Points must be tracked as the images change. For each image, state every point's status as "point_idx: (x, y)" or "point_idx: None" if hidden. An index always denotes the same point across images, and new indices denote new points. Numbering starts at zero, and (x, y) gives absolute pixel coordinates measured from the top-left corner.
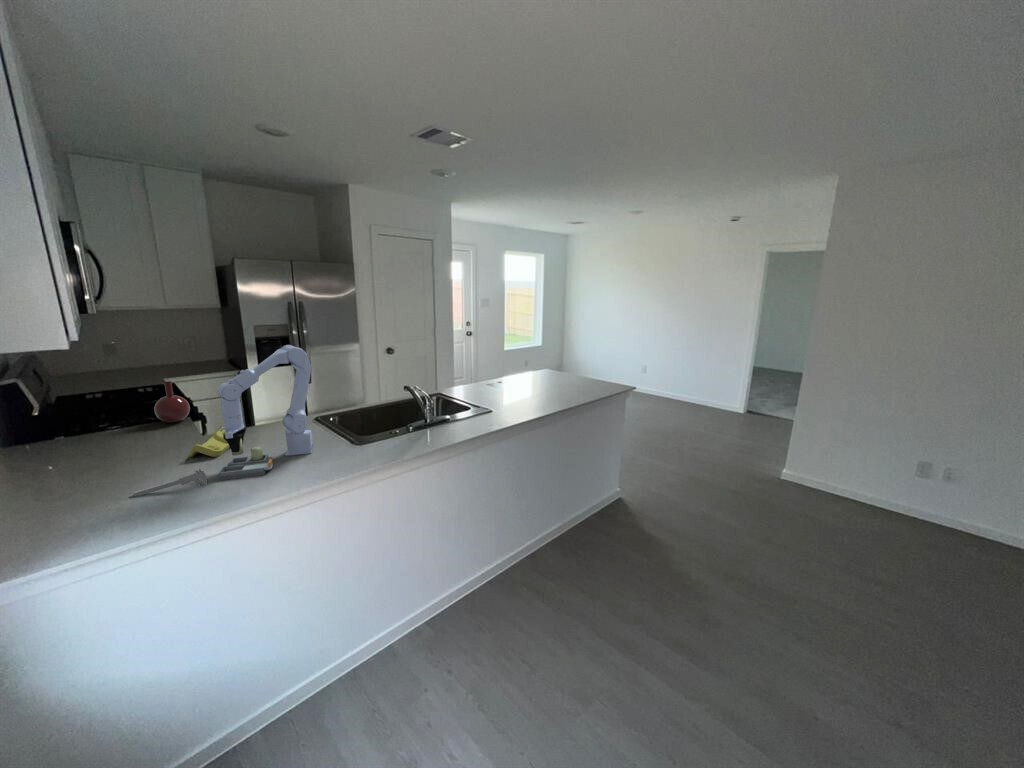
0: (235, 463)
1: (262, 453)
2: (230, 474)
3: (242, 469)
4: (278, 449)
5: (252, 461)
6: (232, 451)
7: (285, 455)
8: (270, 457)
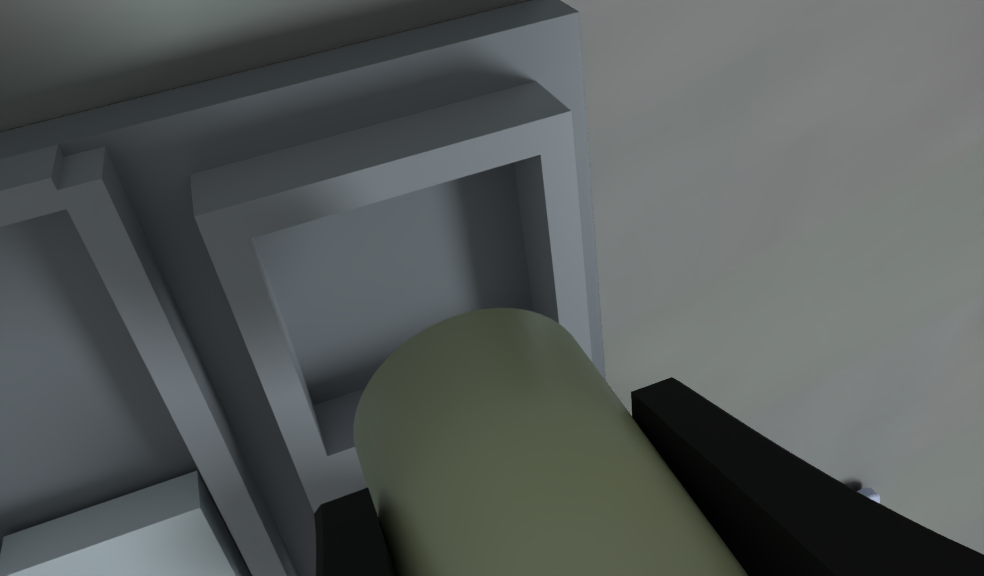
0: (257, 345)
1: None
2: None
3: (15, 573)
4: (898, 389)
5: None
6: (316, 538)
7: None
8: None
